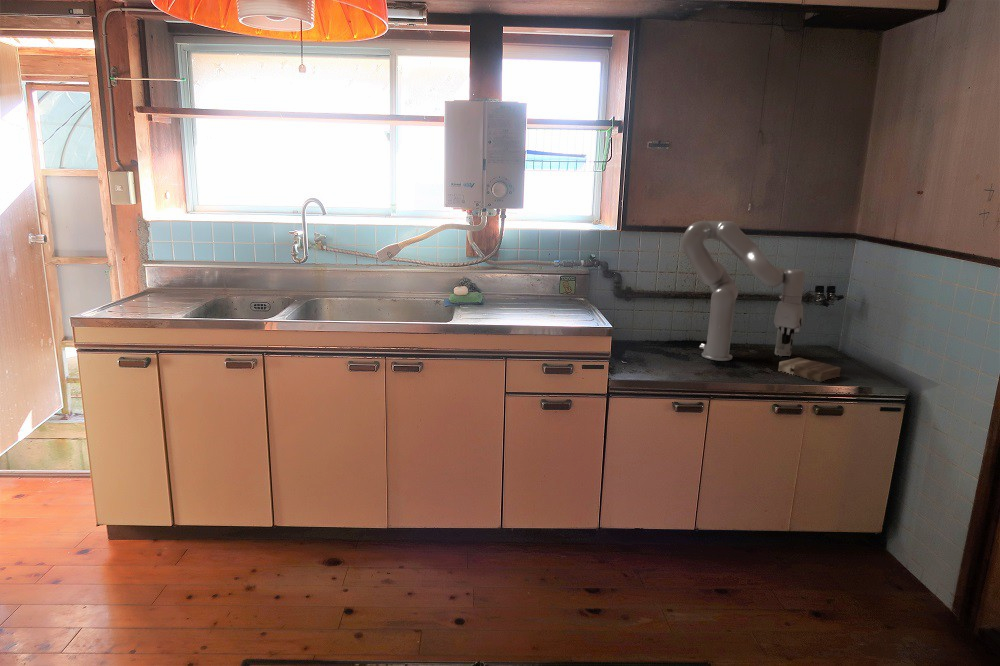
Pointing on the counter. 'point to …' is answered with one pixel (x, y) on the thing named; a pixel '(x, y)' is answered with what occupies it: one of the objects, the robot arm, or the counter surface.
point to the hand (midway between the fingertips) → (785, 343)
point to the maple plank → (791, 364)
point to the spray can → (783, 345)
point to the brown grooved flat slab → (816, 371)
